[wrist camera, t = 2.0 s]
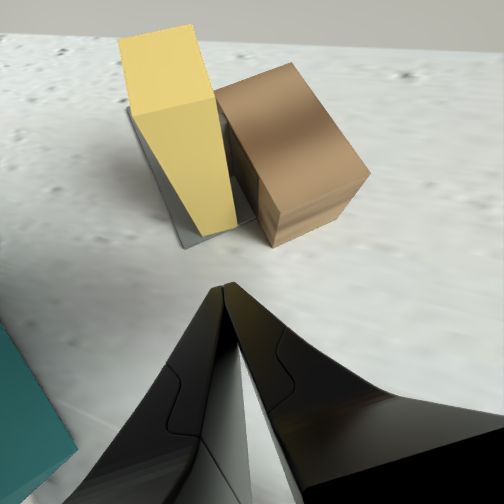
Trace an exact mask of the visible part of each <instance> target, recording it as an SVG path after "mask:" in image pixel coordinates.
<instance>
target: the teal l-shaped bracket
mask: <svg viewBox="0 0 504 504" xmlns="http://www.w3.org/2000/svg"><path fill="white" fill-rule="evenodd" d="M77 450H78V448H77V446H76V444H75V443H74V441H73V439H72V438H71V436H70V435H69V433H68V431H67V430H66V428H65V426H64V425H63V423H62V422H61V420H60V418H59V417H58V415H57V413H56V412H55V410H54V409H53V407H52V405H51V404H50V402H49V400H48V399H47V397H46V396H45V394H44V392H43V391H42V389H41V387H40V386H39V384H38V383H37V381H36V379H35V378H34V376H33V374H32V373H31V371H30V370H29V368H28V366H27V365H26V363H25V361H24V360H23V358H22V357H21V355H20V353H19V352H18V350H17V348H16V347H15V345H14V343H13V342H12V340H11V339H10V337H9V335H8V334H7V332H6V330H5V329H4V327H3V326H2V324H1V322H0V504H20V503H21V502H22V501H23V500H25V499H26V498H27V497H28V496H29V495H30V494H31V493H32V492H33V491H34V490H35V489H36V488H37V487H39V486H40V485H41V484H42V483H43V482H44V481H45V480H46V479H47V478H48V477H49V476H50V475H51V474H53V473H54V472H55V471H56V470H57V469H58V468H59V467H60V466H61V465H62V464H63V463H64V462H65V461H67V460H68V459H69V458H70V457H71V456H72V455H73V454H74V453H75V452H76V451H77Z"/></svg>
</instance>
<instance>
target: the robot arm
mask: <svg viewBox="0 0 504 504" xmlns="http://www.w3.org/2000/svg"><path fill="white" fill-rule="evenodd" d="M238 346H239V347H238ZM239 348H240V351H241V354H242V357H243V360H244V363H245V365H246V368H247V371H248V374H249V376H250V379H251V382H252V385H253V387H254V390H255V393H256V396H257V398H258V401H259V404H260V407H261V409H262V412H263V415H264V418H265V420H266V423H267V426H268V429H269V431H270V434H271V437H272V440H273V442H274V445H275V448H276V451H277V453H278V456H279V459H280V462H281V464H282V467H283V470H284V473H285V475H286V478H287V481H288V484H289V486H290V489H291V492H292V495H293V497H294V500H295V503H296V504H504V416H503V415H498V414H492V413H487V412H482V411H476V410H471V409H465V408H460V407H455V406H449V405H444V404H438V403H433V402H428V401H422V400H417V399H412V398H406V397H401V396H398V395H395V394H392V393H389V392H387V391H384V390H382V389H380V388H378V387H376V386H374V385H373V384H371V383H369V382H368V381H366V380H364V379H363V378H361V377H360V376H358V375H356V374H355V373H353V372H352V371H350V370H349V369H347V368H345V367H344V366H342V365H341V364H339V363H338V362H336V361H334V360H333V359H331V358H330V357H328V356H327V355H325V354H324V353H322V352H321V351H319V350H318V349H316V348H315V347H313V346H312V345H310V344H309V343H307V342H306V341H305V340H304V339H302V338H301V337H300V336H299V335H297V334H296V333H295V332H294V331H292V330H291V329H290V328H289V327H287V326H286V325H285V324H284V323H283V322H282V321H280V320H279V319H278V318H277V317H276V316H275V315H273V314H272V313H271V312H270V311H269V310H267V309H266V308H265V307H264V306H263V305H261V304H260V303H259V302H258V301H257V300H256V299H254V298H253V297H252V296H251V295H250V294H248V293H247V292H246V291H245V290H244V289H243V288H241V287H240V286H239V285H238V284H237V283H235V282H231V283H227V284H224V285H223V286H217V287H214V288H211V289H210V291H209V292H208V294H207V296H206V297H205V299H204V301H203V302H202V304H201V306H200V307H199V309H198V310H197V312H196V314H195V315H194V317H193V319H192V320H191V322H190V324H189V325H188V327H187V329H186V330H185V332H184V334H183V335H182V337H181V339H180V340H179V342H178V344H177V345H176V347H175V348H174V350H173V352H172V353H171V355H170V357H169V358H168V360H167V362H166V365H164V366H163V368H162V370H161V371H160V373H159V375H158V376H157V378H156V379H155V381H154V383H153V384H152V386H151V387H150V389H149V390H148V392H147V393H146V395H145V396H144V398H143V399H142V401H141V402H140V404H139V405H138V406H137V408H136V409H135V411H134V412H133V413H132V415H131V416H130V418H129V419H128V420H127V422H126V423H125V424H124V426H123V427H122V429H121V430H120V431H119V433H118V434H117V435H116V437H115V438H114V440H113V441H112V442H111V444H110V445H109V446H108V448H107V449H106V451H105V452H104V453H103V455H102V456H101V457H100V459H99V460H98V461H97V463H96V464H95V466H94V467H93V468H92V470H91V471H90V472H89V474H88V475H87V476H86V478H85V479H84V480H83V481H82V483H81V484H80V485H79V486H78V487H77V488H76V490H75V491H74V492H73V493H72V494H71V495H70V496H69V497H68V498H67V499H66V500H65V501H64V502H63V503H62V504H252V494H251V483H250V471H249V459H248V448H247V436H246V424H245V413H244V401H243V390H242V378H241V366H240V355H239Z"/></svg>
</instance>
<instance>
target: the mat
mask: <svg viewBox="0 0 504 504" xmlns="http://www.w3.org/2000/svg"><path fill="white" fill-rule="evenodd" d="M126 108H127V110H128V113H129V115H130V118H131V120H132V123H133V125H134V127H135V130H136V132H137V135H138V137H139V140H140V142H141V144H142V147H143V149H144V152H145V154H146V157H147V159H148V162H149V164H150V166H151V169H152V171H153V174H154V176H155V179H156V181H157V183H158V186H159V188H160V191H161V193H162V196H163V198H164V200H165V203H166V205H167V208H168V210H169V213H170V215H171V218H172V220H173V222H174V225H175V227H176V230H177V232H178V235H179V237H180V239H181V242H182V244H183V247H184V249H188V248H190V247H192V246H195V245H197V244H199V243H201V242H204V241H206V240H208V239H210V238H213V237H215V236H217V235H220V234H222V233H224V232H226V231H229V230H231V229H229V230H225V231H221V232H218V233H214V234H210V235H207V236H203V237H202V235H201V233H200V232H199V230H198V228H197V226H196V225H195V223H194V221H193V220H192V218H191V216H190V215H189V213H188V211H187V209H186V208H185V206H184V204H183V203H182V201H181V199H180V198H179V196H178V194H177V192H176V191H175V189H174V187H173V186H172V184H171V182H170V181H169V179H168V177H167V175H166V174H165V172H164V170H163V169H162V167H161V165H160V163H159V162H158V160H157V158H156V157H155V155H154V153H153V152H152V150H151V148H150V146H149V145H148V143H147V141H146V140H145V138H144V136H143V135H142V133H141V131H140V129H139V128H138V126H137V124H136V123H135V121H134V119H133V117H132V114H131V109H130V106H129V107H126ZM229 179H230V184H231V190H232V196H233V201H234V207H235V213H236V218H237V224H238V226H240V225H242V224H245V223H247V222H249V221H251V220H254V219H256V216H255V214H254V212H253V210H252V208H251V206H250V204H249V203H248V201H247V199H246V197H245V195H244V193H243V191H242V189H241V187H240V185H239V183H238V181H237V180H236V178H235V175H234V176H231V177H229ZM232 229H233V228H232Z"/></svg>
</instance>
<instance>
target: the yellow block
mask: <svg viewBox="0 0 504 504" xmlns="http://www.w3.org/2000/svg"><path fill="white" fill-rule="evenodd" d="M118 45H119V50H120V55H121V61H122V66H123V71H124V77H125V82H126V87H127V93H128V98H129V103H130V109H131V114H132V117H133V119H134V121H135V123H136V124H137V126H138V128H139V129H140V131H141V133H142V135H143V136H144V138H145V140H146V141H147V143H148V145H149V146H150V148H151V150H152V152H153V153H154V155H155V157H156V158H157V160H158V162H159V163H160V165H161V167H162V169H163V170H164V172H165V174H166V175H167V177H168V179H169V181H170V182H171V184H172V186H173V187H174V189H175V191H176V192H177V194H178V196H179V198H180V199H181V201H182V203H183V204H184V206H185V208H186V209H187V211H188V213H189V215H190V216H191V218H192V220H193V221H194V223H195V225H196V226H197V228H198V230H199V232H200V233H201V235H202V237H203V236H207V235H210V234H214V233H218V232H221V231H225V230H229V229H232V228H236V227H238V224H237V218H236V213H235V207H234V201H233V196H232V190H231V184H230V179H229V173H228V167H227V161H226V156H225V150H224V144H223V139H222V133H221V127H220V122H219V116H218V110H217V105H216V99H215V95H214V92H213V89H212V86H211V83H210V79H209V76H208V73H207V70H206V67H205V64H204V61H203V58H202V55H201V51H200V48H199V45H198V42H197V39H196V36H195V33H194V30H193V27H192V24H188V25H183V26H179V27H174V28H169V29H165V30H160V31H156V32H151V33H146V34H141V35H137V36H132V37H127V38H123V39H118Z"/></svg>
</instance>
